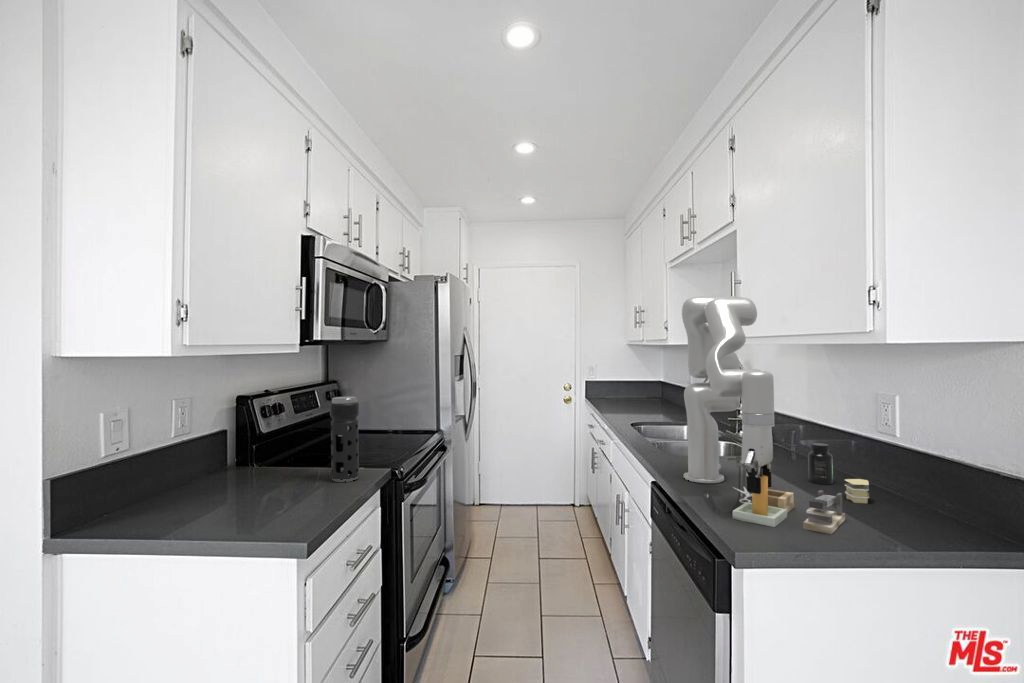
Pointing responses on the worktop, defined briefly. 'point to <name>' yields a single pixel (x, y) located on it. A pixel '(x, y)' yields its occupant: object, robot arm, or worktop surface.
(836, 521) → the base
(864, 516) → the worktop surface
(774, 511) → the tray
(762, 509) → the plug
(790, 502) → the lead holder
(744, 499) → the scissors
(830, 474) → the supplement bottle
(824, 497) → the lever
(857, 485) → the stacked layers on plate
